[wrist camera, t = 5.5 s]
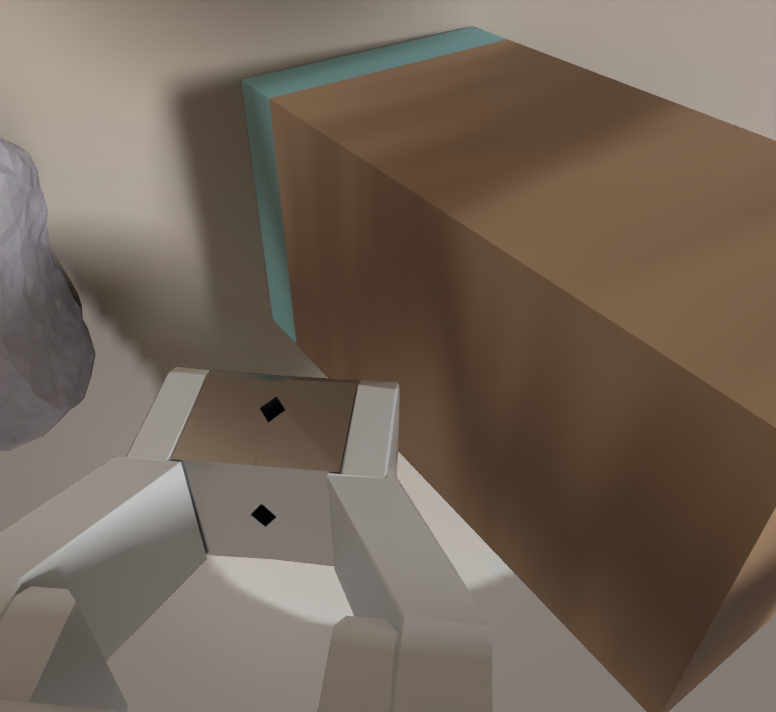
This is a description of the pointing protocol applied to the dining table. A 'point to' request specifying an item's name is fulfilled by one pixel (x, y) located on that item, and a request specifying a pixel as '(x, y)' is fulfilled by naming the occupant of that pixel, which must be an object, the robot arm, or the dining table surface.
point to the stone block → (35, 313)
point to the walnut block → (547, 323)
